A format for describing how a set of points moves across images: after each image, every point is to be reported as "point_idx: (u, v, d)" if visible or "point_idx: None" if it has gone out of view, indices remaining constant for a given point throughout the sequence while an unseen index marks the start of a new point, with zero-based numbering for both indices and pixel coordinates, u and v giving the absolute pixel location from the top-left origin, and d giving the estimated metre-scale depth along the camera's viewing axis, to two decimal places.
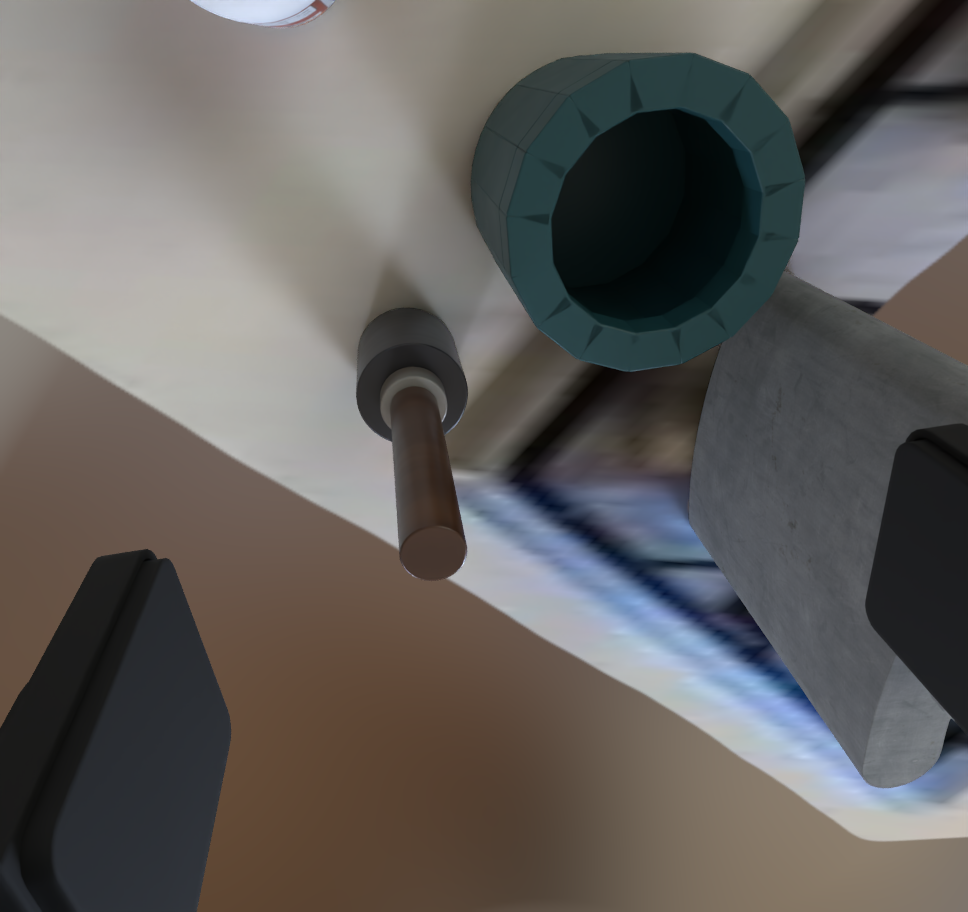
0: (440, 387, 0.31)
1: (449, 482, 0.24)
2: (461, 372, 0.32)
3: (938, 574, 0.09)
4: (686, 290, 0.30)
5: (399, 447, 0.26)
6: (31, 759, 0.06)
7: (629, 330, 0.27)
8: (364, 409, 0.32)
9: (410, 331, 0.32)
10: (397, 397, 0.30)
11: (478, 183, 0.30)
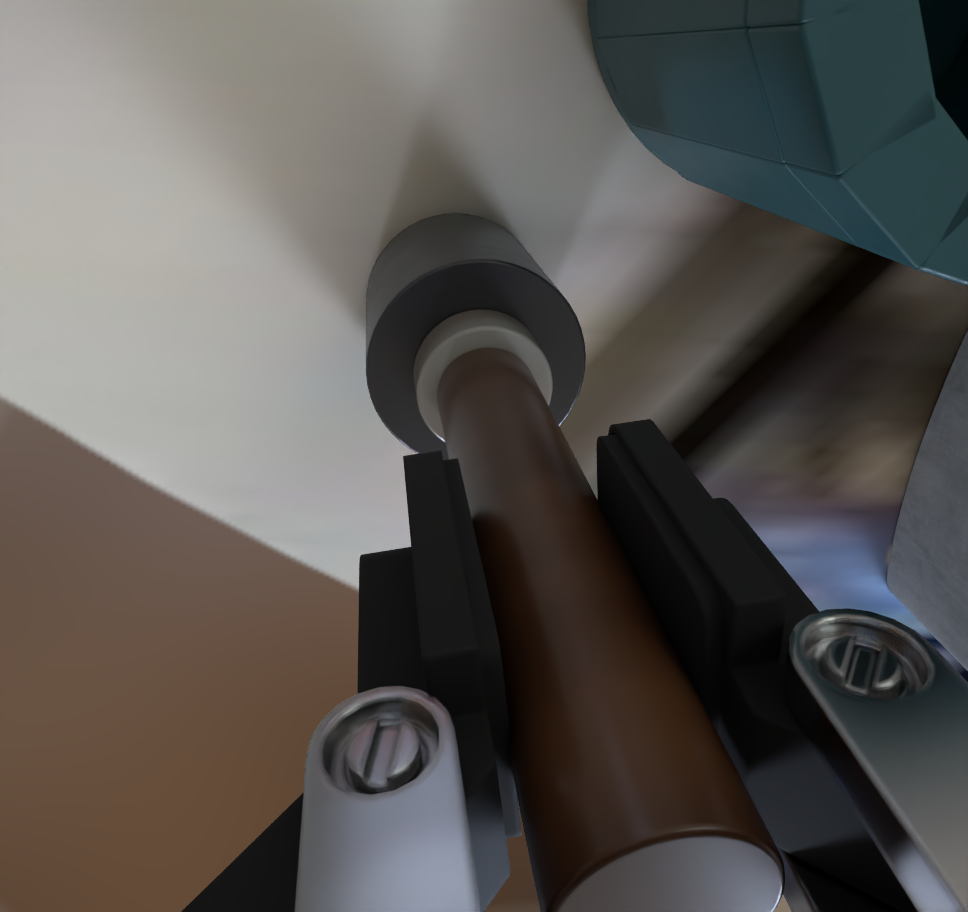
0: (541, 350, 0.15)
1: (645, 598, 0.08)
2: (576, 323, 0.16)
3: None
4: None
5: (480, 487, 0.10)
6: (452, 585, 0.07)
7: None
8: (382, 397, 0.16)
9: (473, 242, 0.16)
10: (454, 370, 0.14)
11: None
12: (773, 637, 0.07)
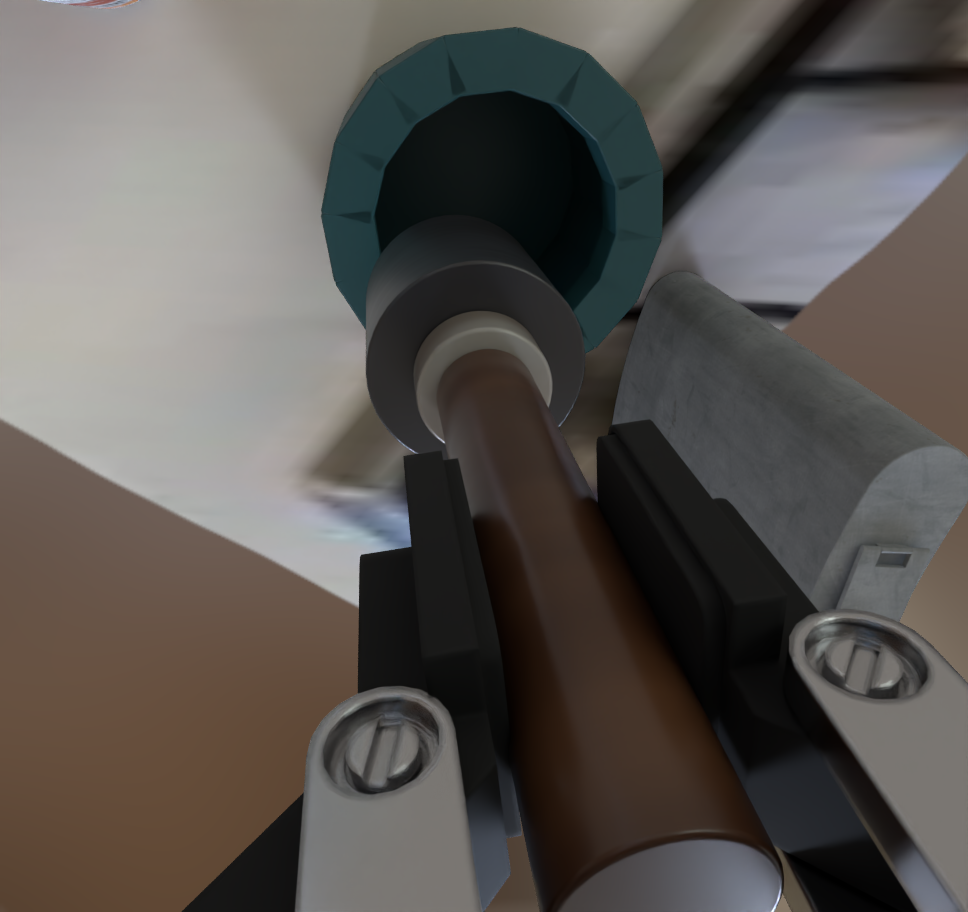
0: (540, 352, 0.15)
1: (645, 600, 0.08)
2: (576, 324, 0.16)
3: None
4: (562, 295, 0.28)
5: (479, 488, 0.10)
6: (453, 584, 0.07)
7: None
8: (381, 398, 0.16)
9: (473, 244, 0.16)
10: (454, 371, 0.14)
11: None
12: (772, 637, 0.07)
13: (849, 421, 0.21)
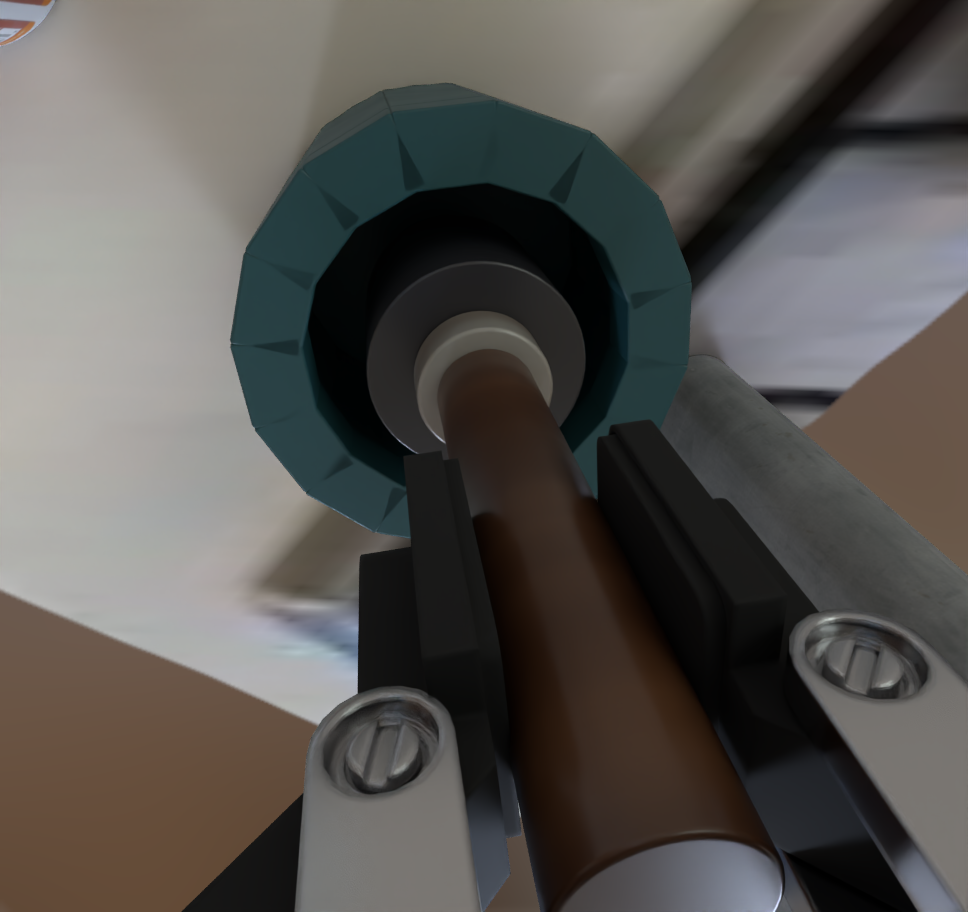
0: (541, 352, 0.15)
1: (645, 600, 0.08)
2: (576, 324, 0.16)
3: None
4: None
5: (480, 488, 0.10)
6: (453, 585, 0.07)
7: None
8: (382, 398, 0.16)
9: (473, 244, 0.16)
10: (454, 371, 0.14)
11: None
12: (773, 637, 0.07)
13: (945, 634, 0.15)
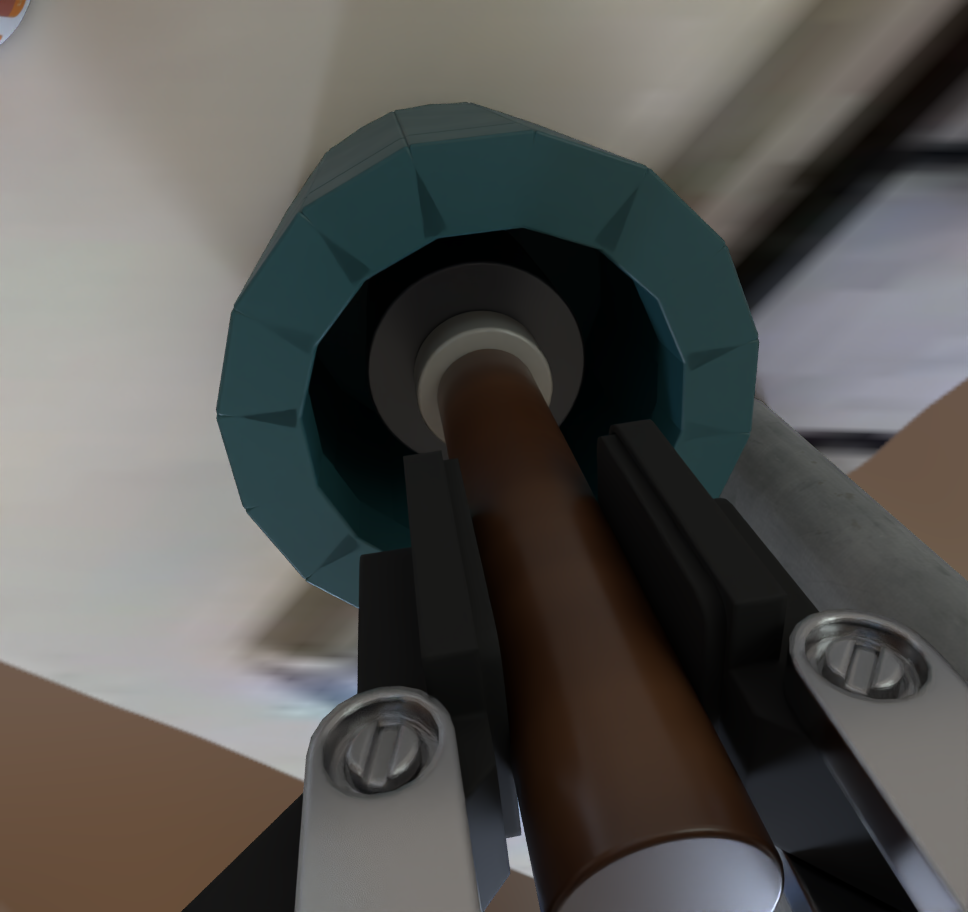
0: (541, 352, 0.15)
1: (645, 599, 0.08)
2: (576, 324, 0.16)
3: None
4: (589, 467, 0.20)
5: (480, 487, 0.10)
6: (452, 585, 0.07)
7: None
8: (382, 398, 0.16)
9: (473, 244, 0.16)
10: (454, 371, 0.14)
11: None
12: (773, 637, 0.07)
13: None
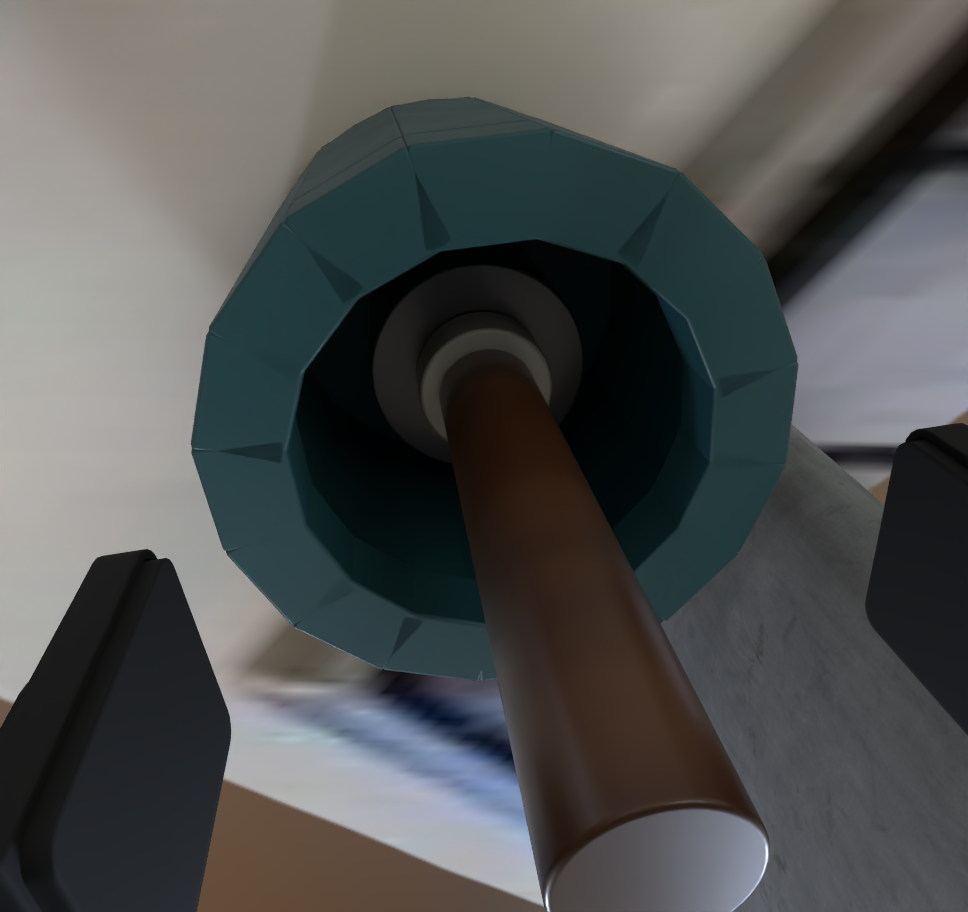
0: (541, 352, 0.15)
1: (640, 589, 0.09)
2: (575, 325, 0.16)
3: (938, 574, 0.09)
4: (602, 492, 0.18)
5: (481, 484, 0.11)
6: (32, 759, 0.06)
7: (475, 618, 0.14)
8: (385, 397, 0.16)
9: None
10: (456, 371, 0.14)
11: None
12: None
13: None
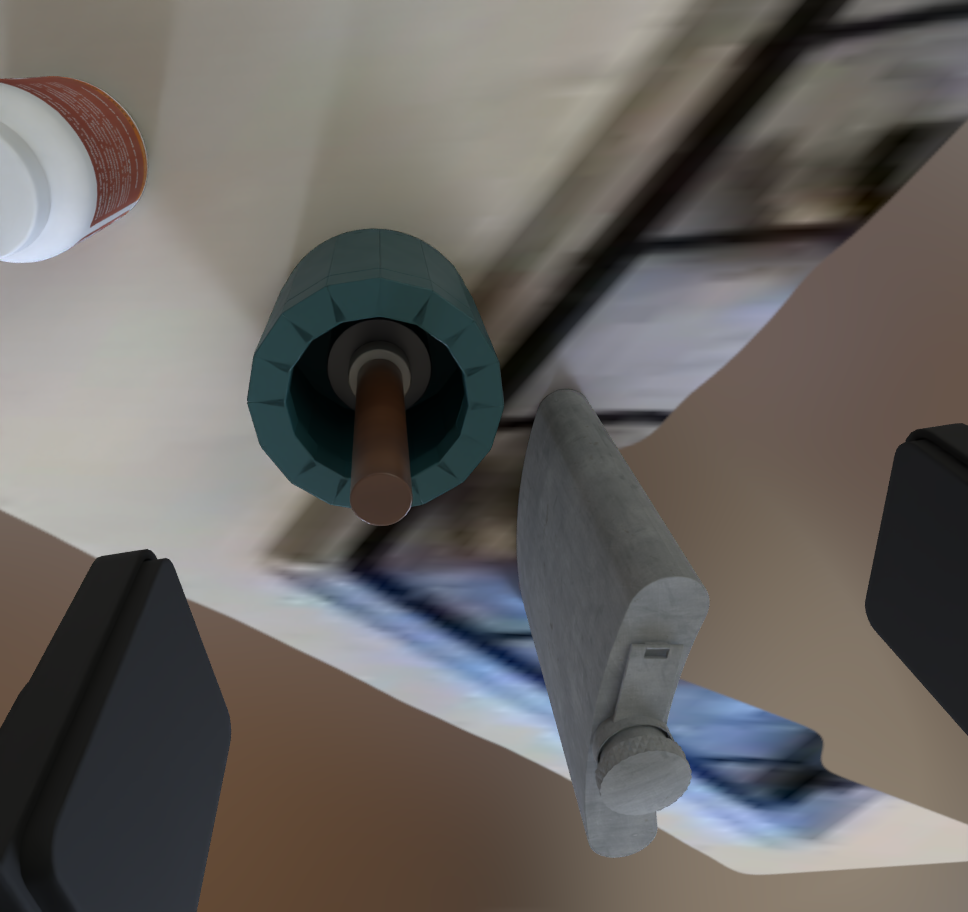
0: (403, 359, 0.33)
1: (401, 438, 0.26)
2: (424, 346, 0.34)
3: (938, 574, 0.09)
4: (448, 430, 0.36)
5: (359, 410, 0.28)
6: (31, 759, 0.06)
7: None
8: (334, 382, 0.34)
9: None
10: (362, 369, 0.32)
11: None
12: None
13: (628, 550, 0.29)
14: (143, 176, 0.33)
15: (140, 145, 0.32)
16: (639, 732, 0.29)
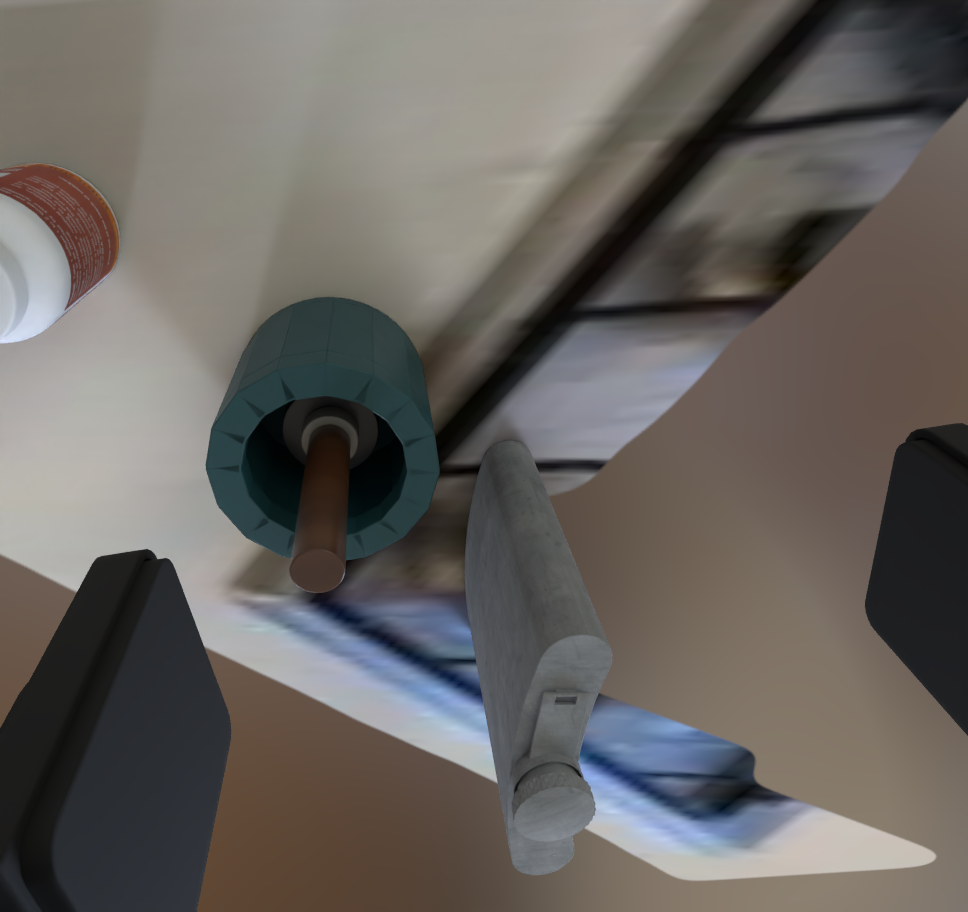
0: (351, 425, 0.36)
1: (339, 511, 0.29)
2: None
3: (938, 574, 0.09)
4: (394, 484, 0.39)
5: (305, 480, 0.32)
6: (32, 759, 0.06)
7: None
8: (289, 442, 0.37)
9: None
10: (313, 434, 0.35)
11: None
12: None
13: (544, 607, 0.32)
14: (115, 252, 0.36)
15: (112, 225, 0.35)
16: (551, 768, 0.32)
